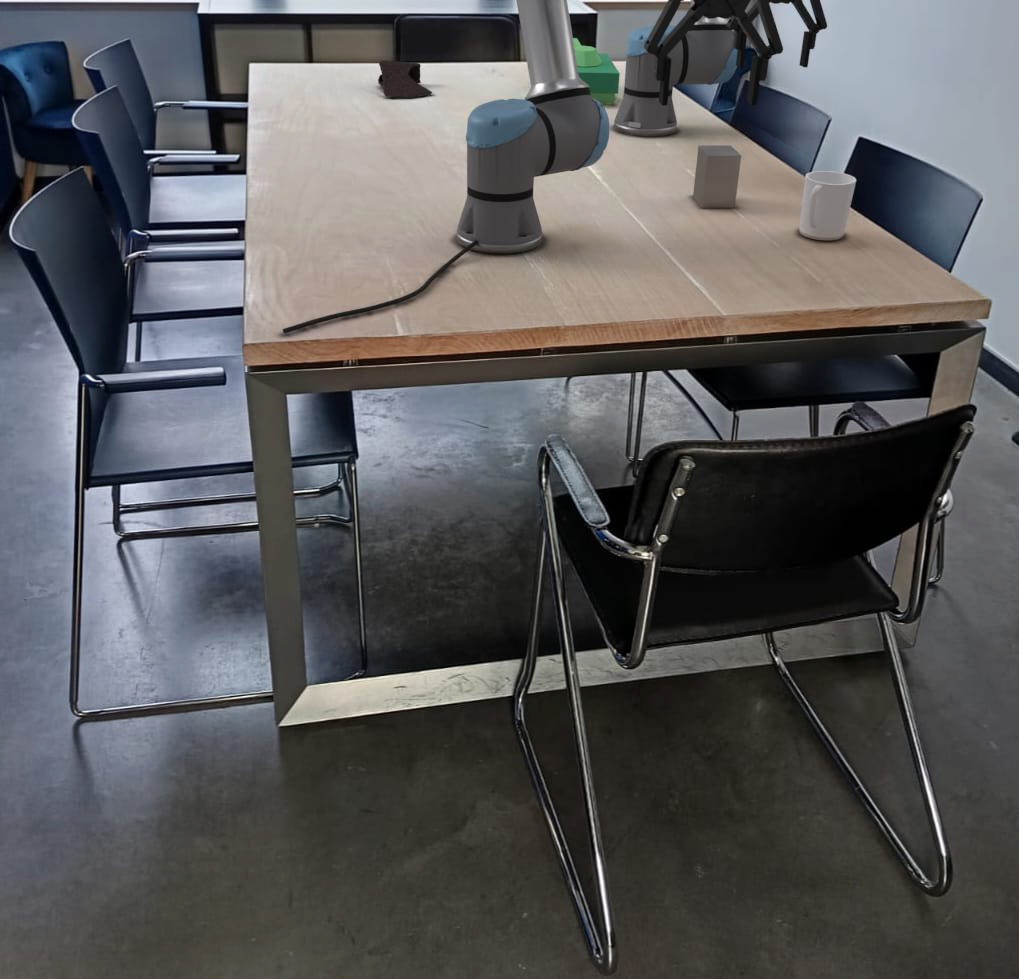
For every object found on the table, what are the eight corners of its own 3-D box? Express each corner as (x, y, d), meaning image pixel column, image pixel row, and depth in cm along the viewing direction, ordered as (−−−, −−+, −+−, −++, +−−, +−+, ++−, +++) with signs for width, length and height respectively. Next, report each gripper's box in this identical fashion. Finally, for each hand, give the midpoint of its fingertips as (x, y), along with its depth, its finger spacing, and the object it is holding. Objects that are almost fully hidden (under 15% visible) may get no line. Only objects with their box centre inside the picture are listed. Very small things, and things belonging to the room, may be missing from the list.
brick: (734, 207, 215) (741, 155, 210) (702, 208, 215) (708, 155, 209) (724, 196, 222) (730, 145, 217) (692, 196, 221) (698, 145, 216)
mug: (809, 222, 208) (818, 168, 202) (854, 233, 203) (864, 177, 197) (782, 236, 200) (791, 180, 195) (827, 247, 195) (838, 190, 190)
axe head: (443, 87, 294) (392, 77, 287) (436, 115, 299) (385, 106, 292) (421, 62, 307) (371, 52, 300) (414, 89, 311) (365, 80, 304)
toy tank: (604, 35, 312) (620, 58, 282) (601, 80, 318) (617, 107, 288) (542, 33, 311) (552, 56, 281) (541, 79, 317) (550, 106, 288)
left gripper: (802, -56, 157) (780, 97, 168) (631, -58, 155) (620, 97, 166) (820, -50, 151) (795, 108, 162) (642, -53, 149) (630, 109, 160)
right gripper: (840, -50, 218) (823, 63, 229) (719, -51, 215) (707, 63, 226) (855, -47, 212) (836, 69, 222) (730, -48, 209) (717, 69, 220)
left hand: (707, 103), depth 164 cm, fingers open, 13 cm apart
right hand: (771, 66), depth 224 cm, fingers open, 13 cm apart
